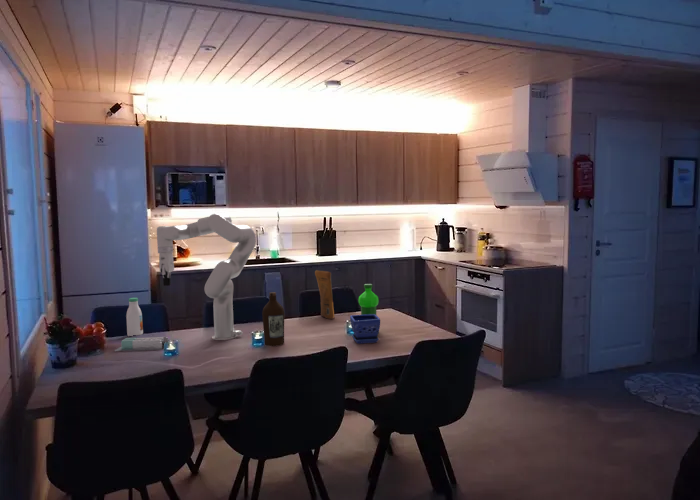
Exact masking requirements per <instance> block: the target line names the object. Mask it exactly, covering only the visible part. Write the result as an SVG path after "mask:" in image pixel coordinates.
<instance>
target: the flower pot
mask: <svg viewBox="0 0 700 500" xmlns="http://www.w3.org/2000/svg"><path fill="white" fill-rule="evenodd" d="M349 321H350V327H351V329H352V332H353V334H351V337H352V338H353V340H354V341H355V343H356V344H359V345H360V344H362V345H363V344H374V343H378V341H379V340H380V339H379V337H378V335H379V332H380V329H381V327H380V326H381V319H380V317H379V316H378V315H377V314H376V315H375V314H365V315H361V314H352V315H350V316H349Z"/></svg>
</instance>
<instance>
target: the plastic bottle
mask: <svg viewBox="0 0 700 500" xmlns="http://www.w3.org/2000/svg"><path fill="white" fill-rule="evenodd" d="M363 289H364V292H363V293H361V294H360V295H359V296H358V299H357V300H358V305H359V306H360V315H365V314H375V315H377V306H378V305H379V296H378V295H377V294H375V293H374V292H373V291H372V289H373V284H372V283H365V284H363Z"/></svg>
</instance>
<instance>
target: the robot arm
mask: <svg viewBox="0 0 700 500" xmlns="http://www.w3.org/2000/svg"><path fill="white" fill-rule="evenodd" d="M232 221H233V220H232V218H231V216H230V215H229V214H227V213H225V212H224V213H222V212H220V213H219V212H217V213H212V214H211V215H209V216H205V217H200V218H198V219H197V221H195V222H192V223H186V224H182V225H181V224H179V225H178V224H177V225H162V226H158V227H157V228H156V241H157V242H156V243H157V246H156V247H157V254H158V255H159V256H158V261H159V262H158V263H159V264H158V265H159V272H160V273H161V275H162V280H163V286H165V287H166V286H167V287H168V286H171V285H172V282H171V272H173V271H174V270H175V263H174V261H175V260H174V255H173V253H174V244H173V241H181V240H183V241H184V240H188V239H192V238H197V237H200V236H206V235H208V234H213V233H215V234H217V235H218V236H220V237H221V238H223V239H225V240H226V241H228V242H230V243H234V244H235V243H238V244H237V245H236V246H235V247H234V248H233V250H232V251H231V253H230V255H229V256H228V258H226V259H225V260H222V261H220V262H218V264H216V265H215V266H214V267H213V270H212V271H211V273H210V275H209V277H208V279H207V280H206V282H205V285H204V293H205V294H206V297H209V298H210V299H213V303H212V304H213V306H212V307H213V326H214V327H213V328H214V330H213V331H214V335H212V336H211V340H215V341H227V340H233V339H235V338H237V337H238V336H241V335H242V336H243V330H236V328H234V310H233V309H234V307H233V306H234V304H233V301H234V299H233V296H234V288H235V287H234V282H233V279H234V278H237V277H238V276H240V274H241V272H242V271H243V269H244V267H245V265H246V263H247V262H248V260H249V258H250V256H251V254H253V252H254V249H255V246H256V244H257V243H256V242H257V239H256V238H257V237H256V233H255V231H254V229H253V228H252V227H251V226H250V225H246V224H234V223H233V222H232Z"/></svg>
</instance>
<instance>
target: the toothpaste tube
mask: <svg viewBox="0 0 700 500" xmlns="http://www.w3.org/2000/svg"><path fill="white" fill-rule="evenodd" d="M163 337H164V336H160V337H157V336H156V337H125V338H124V339H123V340H127V339H134V340H143V339H162V342H163ZM163 347H164V342H163Z"/></svg>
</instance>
